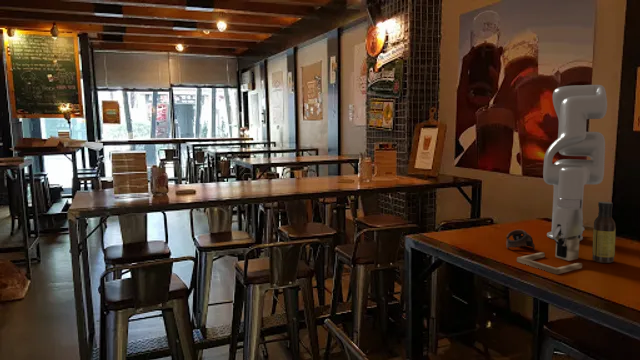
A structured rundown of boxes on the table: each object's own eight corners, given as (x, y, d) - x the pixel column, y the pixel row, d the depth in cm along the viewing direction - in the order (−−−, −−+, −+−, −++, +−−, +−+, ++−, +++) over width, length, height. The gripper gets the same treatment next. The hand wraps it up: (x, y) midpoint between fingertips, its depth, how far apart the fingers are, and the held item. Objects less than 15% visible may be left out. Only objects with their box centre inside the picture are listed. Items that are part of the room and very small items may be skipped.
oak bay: (541, 256, 154) (541, 252, 154) (582, 268, 141) (582, 263, 141) (516, 261, 148) (517, 257, 148) (556, 274, 135) (556, 269, 135)
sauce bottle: (618, 262, 146) (623, 203, 143) (602, 264, 144) (607, 204, 142) (602, 257, 152) (606, 200, 149) (586, 258, 150) (590, 201, 148)
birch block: (564, 254, 155) (565, 235, 154) (578, 258, 151) (579, 238, 150) (555, 256, 153) (556, 237, 152) (568, 260, 149) (570, 240, 148)
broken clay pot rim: (541, 253, 159) (533, 235, 156) (515, 263, 161) (507, 246, 158) (528, 237, 170) (521, 220, 167) (504, 246, 172) (496, 230, 169)
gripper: (574, 199, 157) (571, 249, 159) (543, 204, 149) (540, 256, 151) (596, 202, 150) (592, 254, 152) (564, 207, 142) (561, 262, 145)
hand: (566, 255), depth 152 cm, fingers closed on birch block, 5 cm apart
